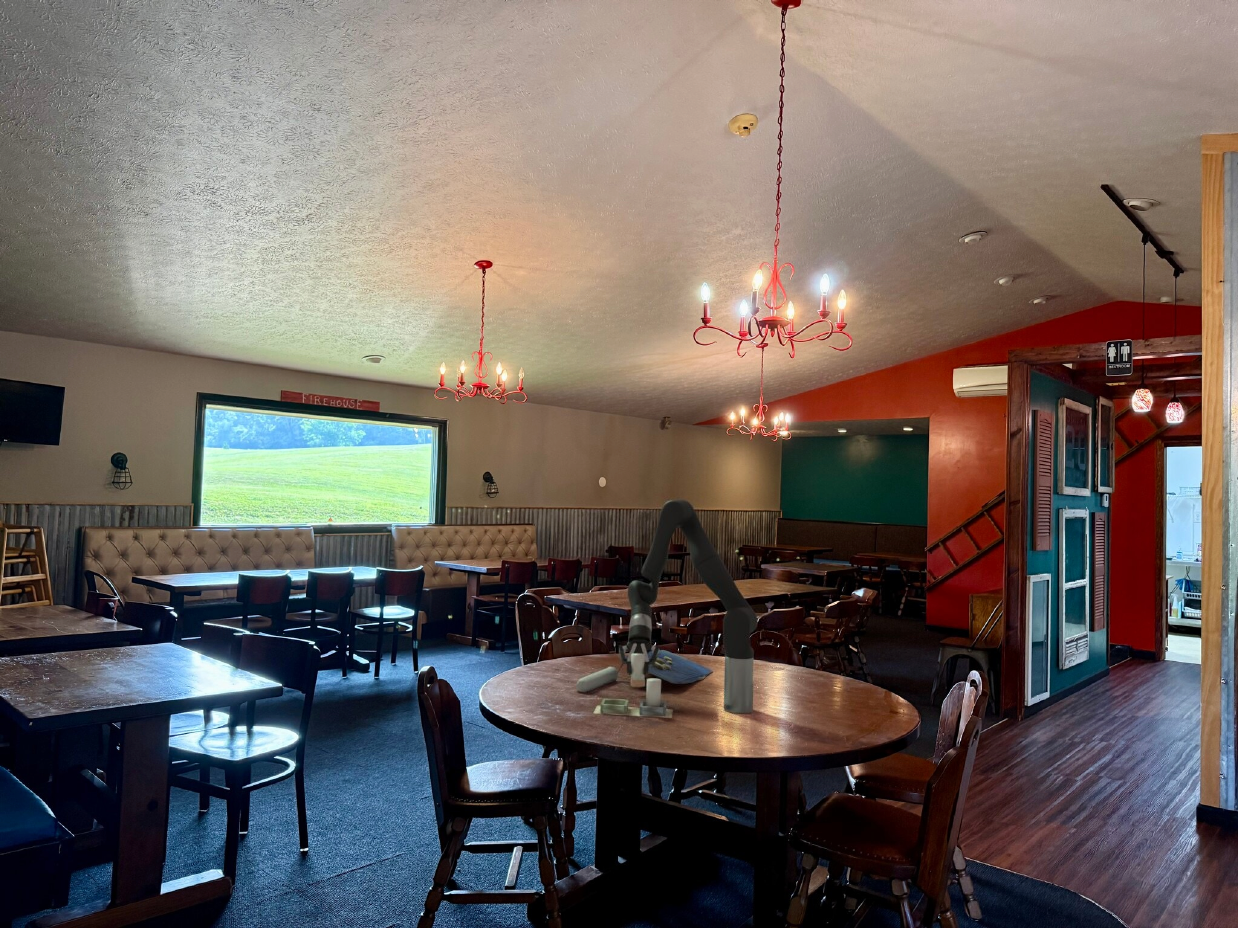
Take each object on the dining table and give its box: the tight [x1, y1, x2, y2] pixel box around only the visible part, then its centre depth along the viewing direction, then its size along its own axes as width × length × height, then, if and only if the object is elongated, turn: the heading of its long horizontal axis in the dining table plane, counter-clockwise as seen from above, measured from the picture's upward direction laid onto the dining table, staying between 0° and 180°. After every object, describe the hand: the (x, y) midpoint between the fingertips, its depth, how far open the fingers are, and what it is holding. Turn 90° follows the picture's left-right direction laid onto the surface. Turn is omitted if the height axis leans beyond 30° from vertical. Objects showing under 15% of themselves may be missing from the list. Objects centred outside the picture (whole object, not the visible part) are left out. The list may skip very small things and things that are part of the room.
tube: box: [576, 666, 619, 693], centre depth 292 cm, size 5×5×25 cm
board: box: [593, 698, 674, 719], centre depth 251 cm, size 24×10×4 cm, turn 85°
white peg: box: [630, 653, 646, 688], centre depth 262 cm, size 5×5×10 cm
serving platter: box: [617, 649, 713, 685], centre depth 310 cm, size 45×27×12 cm, turn 156°
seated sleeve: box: [645, 677, 662, 707], centre depth 251 cm, size 5×5×10 cm
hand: (637, 673), depth 260 cm, fingers closed on white peg, 4 cm apart
